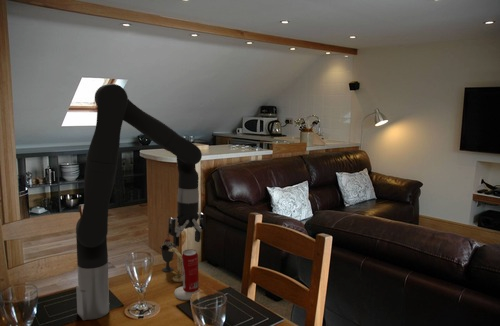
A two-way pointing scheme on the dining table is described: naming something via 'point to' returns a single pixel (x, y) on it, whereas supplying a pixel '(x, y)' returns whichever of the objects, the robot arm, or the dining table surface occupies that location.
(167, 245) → the sundae
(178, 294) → the saucer
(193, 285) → the beverage can
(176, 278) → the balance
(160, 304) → the dining table surface
